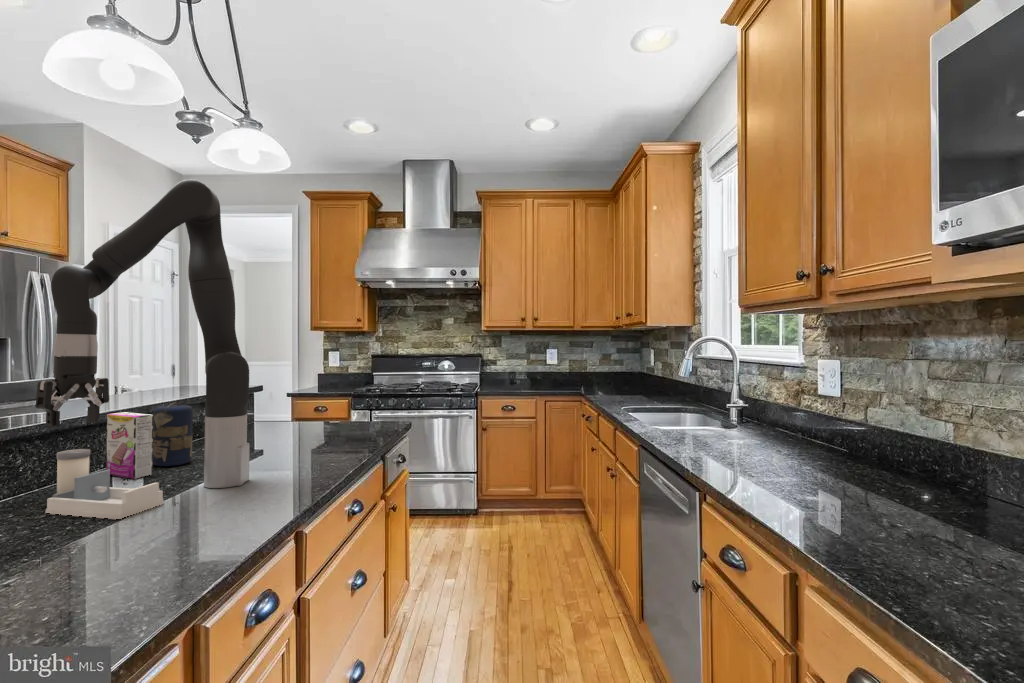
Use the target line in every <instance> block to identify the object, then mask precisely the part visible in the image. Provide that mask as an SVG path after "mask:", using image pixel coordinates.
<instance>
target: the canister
mask: <svg viewBox="0 0 1024 683" xmlns="http://www.w3.org/2000/svg"><path fill="white" fill-rule="evenodd" d="M193 408H194V407H192V406H191V405H186V404H181V403H178V402H172V403H170V404H169V405H160V406H157V407H155V408H154V410H153V451H152V465H155V466H157V467H173V466H180V465H184V464H185V465H186V464H187V463H189V462H191V461H192V458H193V422H194V421H193V420H194V418H193V415H194V414H193V413H194V412H193V411H194V410H193Z"/></svg>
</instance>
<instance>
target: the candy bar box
mask: <svg viewBox="0 0 1024 683" xmlns="http://www.w3.org/2000/svg"><path fill="white" fill-rule="evenodd" d="M153 421H154V414H148V413H137V412H131V411H130V412H127V411H124V412H115V413H107V414H106V465H105V466H106V469H105V470H110V475H112V477H116V476H119V477H118V478H124V477H125V479H130V478H131V480H132V479H133V480H137V478H138V479H141V478H140V477H142V478H145V476H146V477H150V476H152V475H153ZM149 475H150V476H149Z"/></svg>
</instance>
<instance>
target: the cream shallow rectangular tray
mask: <svg viewBox="0 0 1024 683" xmlns="http://www.w3.org/2000/svg"><path fill="white" fill-rule="evenodd" d="M163 494H164V491H163V490H160V482H151V483H149V484H146V485H143V486H139V487H136V488H127V487H113V486H110V495H109V498H106V499H103V500H99V501H96V500H83V499H74V489H72V490H69V491H65V492H61V493H58V494H57V493H55V494H54V493H53V494H52V497H49V498H47V499H46V508H45V514H46V513H50V514H49V515H55V514H59V515H58V516H67V515H72V516H71V517H79V516H82V518H92V517H96V518H95V519H104V518H108V519H107V520H116V519H121V520H123V519H122V518H124V517H126V518H128V517H127V516H129V517H131V516H130V515H132V516H134V515H133V514H135V515H137V514H140V513H143V512H145V511H144V510H146V511H148V510H147V509H149V510H151V509H154V508H156V507H155V506H157V507H160V506H163V505H165V502H164V497H163V496H164V495H163ZM162 504H163V505H162ZM159 505H160V506H159ZM153 507H154V508H153ZM150 508H151V509H150ZM142 511H143V512H142ZM139 512H140V513H139ZM136 513H137V514H136ZM60 514H61V515H60ZM124 519H125V518H124Z"/></svg>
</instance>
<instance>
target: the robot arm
mask: <svg viewBox="0 0 1024 683" xmlns="http://www.w3.org/2000/svg"><path fill="white" fill-rule="evenodd" d="M221 217H222V216H221V204H220V200H219V198H218V196H217V194H215V192H214V190H212V189H211V188H210V187H209V186H208V185H207V184H206V183H204V182H202V181H201V180H198V179H191V178H189V179H188V178H187V179H182V180H180V181H178V182H177V183H176V184H175V185H173V186H172V188H170V190H169V191H168V192H167V193H166V194H164V196H163V197H162V198H161V199H159V201H158V202H157V203H156V204H154V205H153V206H152V207H151V208H150V209H149V210H148V211H147V212H146V213H144V214H143V215H142V216H140V217H139V219H137V220H136V221H135V222H133V223H132V224H130V225H129V226H128V227H126V228H125V229H123V230H122V231H121V232H120V233H118V234H116V235H115V236H113V237H112V238H110V239H109V240H107V241H106V242H105V243H102V244H101V245H100V246H99V247H97V248H96V249H95V250H94V251H93V252H92V253H91V257H92V260H91V261H89V262H88V263H87V264H86V265H85V266H83V267H80V266H77V265H64V266H62V267H60V268H58V269H57V270H56V271H55V272H54V273H53V275H52V277H51V282H50V290H51V296H52V300H53V301H52V302H53V304H54V309H55V312H56V330H55V332H56V334H55V338H54V339H55V340H54V346H53V347H54V348H53V368H52V369H53V371H52V373H53V375H54V376H55V377H54V380H53V381H48V380H39V381H38V382H37V387H36V397H35V406H34V407H35V408H36V409H38V410H39V409H40V410H43V411H45V412H46V413H45V416H46V417H45V425H46V426H47V428H49V429H58V428H59V427H60V419H61V418H60V417H61V416H60V415H61V411H60V408H61V407H62V406H63V405H64V404H65V403H67V402H68V401H69V400H75V399H81V400H84V402H86V404H87V405H88V406H87V412H86V413H87V416H86V419H87V420H86V421H87V422H88V423H97V422H98V421H99V419H100V410H101V406H102V405H103V404H107V403H109V401H110V390H109V389H110V385H109V384H110V383H109V381H110V380H109V379H108V378H107V377H97V378H96V375H97V373H98V352H99V350H98V348H99V347H98V346H99V345H98V336H97V334H98V316H97V313H96V312H95V311H94V310H92V308H91V303H90V300H92V299H94V298H96V297H98V296H100V295H102V294H104V292H106V291H107V290H108V289H109V288H110V287H111V286H112V285H114V283H115V282H116V281H117V280H118V279H119V277H120V276H121V275H122V274H123V273H125V272H126V271H128V270H130V269H131V268H132V267H133V266H135V265H136V264H138V263H139V262H140V261H142V260H143V259H145V258H146V257H147V256H148V255H150V253H151V252H152V251H153V250H154V249H155V248H156V246H158V244H159V243H160V242H162V240H163V239H164V238H165V237H166V236H167V235H169V233H170V232H172V231H173V230H175V229H176V228H178V227H180V226H182V225H184V224H185V226H186V231H187V234H188V239H189V240H188V241H189V255H188V256H189V258H188V265H187V266H188V267H187V268H188V269H187V270H188V282H189V283H188V284H189V288H190V293H191V299H192V302H193V306H194V310H195V314H196V316H197V320H198V323H199V326H200V328H201V333H202V336H203V337H202V339H203V344H204V357H205V358H204V359H205V360H204V361H205V366H204V367H205V368H204V369H205V370H204V372H205V375H206V376H205V405H204V449H203V450H204V456H203V457H204V458H203V462H204V465H203V467H204V468H203V471H204V472H203V486H204V488H208V489H223V488H231V487H240V486H242V485H244V484H245V483H246V482H247V481H249V480H250V442H247V441H248V440H247V439H248V437H247V436H248V434H247V433H248V405H249V397H250V396H249V394H250V393H249V392H250V366H249V363H248V361H247V360H246V358H245V357H243V355H242V353H241V349H240V346H239V342H238V338H237V332H236V298H235V291H234V285H233V278H232V274H231V269H230V265H229V261H228V256H227V253H226V250H225V245H224V241H223V235H222V233H223V231H222V219H221ZM94 387H95V388H94ZM94 389H95V390H94ZM54 390H55V391H54ZM53 391H54V392H53Z"/></svg>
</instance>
